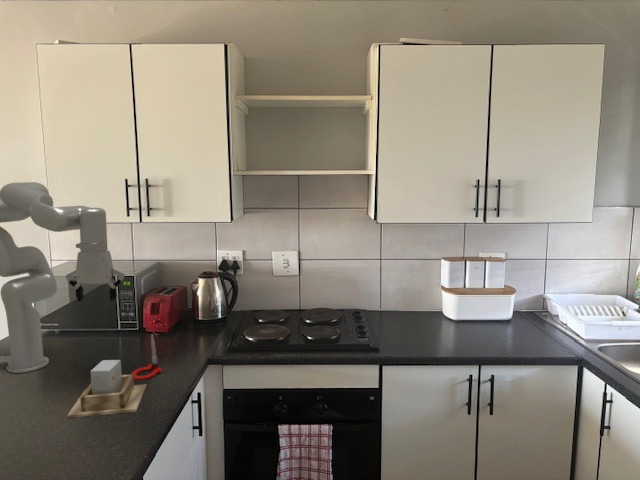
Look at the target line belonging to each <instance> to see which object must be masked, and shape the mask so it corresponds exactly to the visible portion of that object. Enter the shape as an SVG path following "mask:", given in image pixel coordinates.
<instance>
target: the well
mask: <svg viewBox="0 0 640 480" xmlns="http://www.w3.org/2000/svg"><path fill="white" fill-rule="evenodd" d="M146 389H147V384H146V383H145V384H143V383H142V384H135V380H134V374H131V373H130V374H122V390H121V392H120V393H109V394H97V395H92V384H91V382H90V383H89V385H88V386H87V388H86V389H85V390H84V391H83V392H82V394H81V395H80V396H79V398H78V399H77V401H76V402H75V403H74V405H73V406H72V408H71V409H70V411H69V412H68V414H67V415H66V417H67V419H74V418H75V419H76V418H84V417H95V416H104V415H107V416H108V415H117V414H127V413H128V414H129V413H136V412H137V411H138V408H139V406H140V403H141V401H142V399H143V397H144V393H145V392H146Z"/></svg>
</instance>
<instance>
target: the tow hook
mask: <svg viewBox="0 0 640 480" xmlns="http://www.w3.org/2000/svg"><path fill="white" fill-rule="evenodd" d="M155 344H156V342H155V340H154V334H150V346H151V363H150V364H148V365H147V366H143V367H139V368H137V369H134V370H133V371H132V372H131V373H130V374H134V381H135V380H136V381H142V380H143V381H144V380H148V379H151V378H153V377H155V376H156V375H157V374H159V373H163V371H164V369H163V368H162V367H160V364H159V362H158V355H157V354H156V353H157V350H156V345H155ZM145 371H152V372H151V373H149V374H146V375H138V374H139V373H141V372H145Z"/></svg>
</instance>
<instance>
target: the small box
mask: <svg viewBox="0 0 640 480" xmlns="http://www.w3.org/2000/svg"><path fill="white" fill-rule="evenodd" d="M122 375H123V374H122V361H121V359H104V360H101V361H100V362H98V364H97V365H95V367H93V368H92V369H91V370H90V383H91V384H92V395H97V394H109V393H120V392H121V390H122Z"/></svg>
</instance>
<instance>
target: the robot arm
mask: <svg viewBox="0 0 640 480" xmlns="http://www.w3.org/2000/svg"><path fill="white" fill-rule="evenodd" d="M28 218H30V219H31V220H32V222H33V223H34V224H35V225H36V226H38V227H40V228H42V229H45V230H48V231H50V232H59V233H61V232H69V231H77V230H78V231H79V236H80V237H79V239H80V242H79V243H76V244H75V248H76V249H77V248H78V249H79V250H80V251H78V252H77V255H76V256H77V257H76V265H75V267H76V270H73V271H72V272H69V273H68V274H66V275H65V279H66V280H67V281H68V283H69V284H70V286H72V287H73V289H74V290H75V298H76V299H77V302H81V301H83V300H84V287H83V286H82V285H106V284H107V285H108V286H109V287H110V289H109V301H110V302H114V300H115V299H116V298H117V295H118V294H117V287H118V286H119V285H120V284H121V283H122V282H123V280H124V278H125V276H126V275H125V273H123V272H121V271H119V270H117V269H115V268H114V266H113V265H114V264H113V263H114V262H113V260H112V255H111V251H110V250H108V234H107V233H108V231H107V227H108V226H107V212H106V210H105V209H104V208H101V207H90V206H86V205H68V206H58V207H57V206H56V207H55V206H54V200H53V197H52V196H51V195H50V193H49V190H48V188H47V187H46V186H45V185H44V184H42V183H40V182H36V181H35V182H34V181H33V182H31V181H30V182H24V181H23V182H10V183H7V184H4V185H3V187H1V189H0V224H2V223H9V222H11V223H12V222H21V221H24V220H26V219H28ZM24 274H28V275H26V276H22V277H18V278H13V279H11V280H8V281H7V282H5V283H4V284H3V285H1V286H2V287H1V288H0V298H1V301H2V304H3V306H4V309H5V310H4V311H5V313H6V314H5V316H6V322H7V323H6V324H7V331H8V333H7V334H8V342H9V349H10V354H9V355H0V364H7V365H6V371H7V372H9V373H12V374H23V373H24V374H25V373H29V372H33V371H38V370H40V369H42V368H44V367H46V366H47V365H48V364H49V363H50V359H49V357H48V356H44V348H43V337H42V327H41V318H40V312H38V310H37V309H36V308H35V307H34V305H33V304H34V303H38V302H41V301H45V300H46V299H50V298H52V297H53V296H54V295H56V294H57V290H58V284H57V280H56V278H55V276H54V273H53V271H52V270H51V266H50V265H49V262H48V260H47V258H46V256H45V254H44V253H43V252H42V250H41V249H40V248H38V247H36V246H32V245H30V246H29V245H28V246H27V245H26V246H21V247H19V246H18V245H17V244H16V243H15V241H14V238H13V236H12V234H11V233H10V232H8V230H6V229H5V228H4V227H2V226H0V277H1V278H8V277H15V276H20V275H24ZM114 276H116V277H118V278H117V280H116V281H115V280H114ZM74 277H75V279H74Z"/></svg>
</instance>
